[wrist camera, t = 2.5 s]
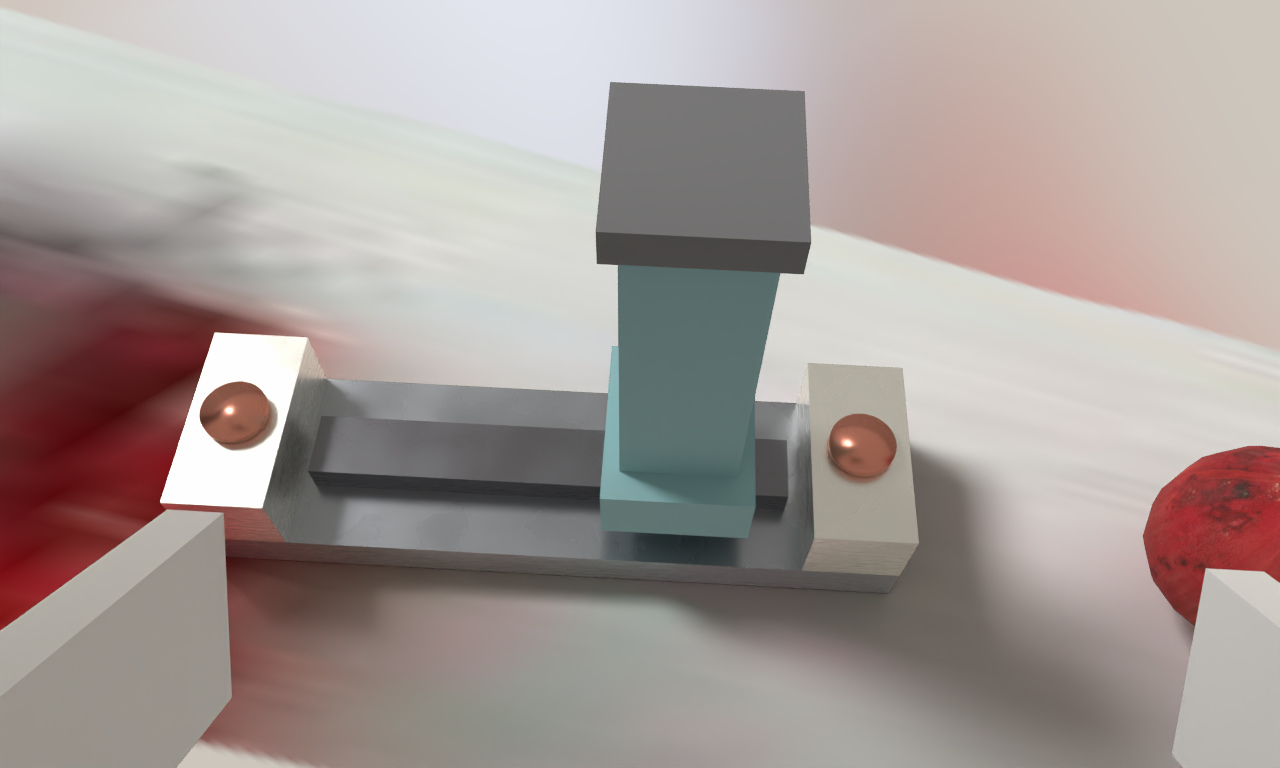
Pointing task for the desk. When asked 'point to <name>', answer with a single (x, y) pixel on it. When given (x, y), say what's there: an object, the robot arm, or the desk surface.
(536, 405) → the rail
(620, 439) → the carriage
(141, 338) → the desk surface
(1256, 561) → the onion
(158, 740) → the robot arm
